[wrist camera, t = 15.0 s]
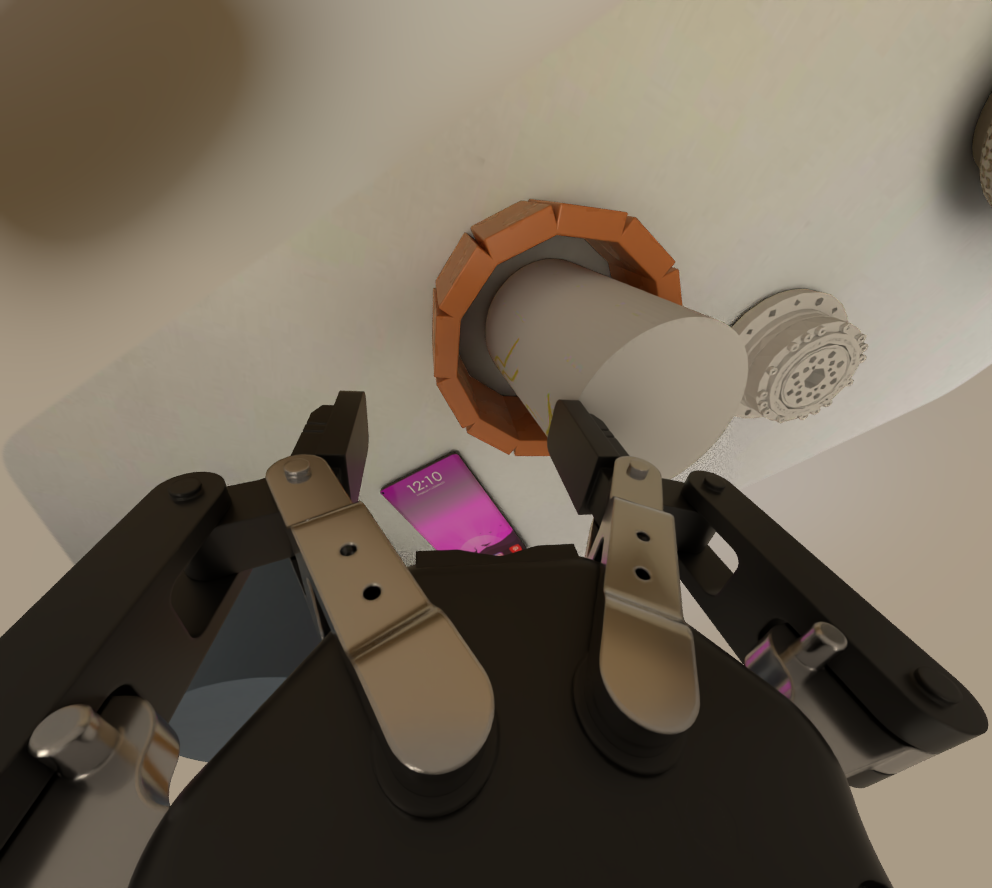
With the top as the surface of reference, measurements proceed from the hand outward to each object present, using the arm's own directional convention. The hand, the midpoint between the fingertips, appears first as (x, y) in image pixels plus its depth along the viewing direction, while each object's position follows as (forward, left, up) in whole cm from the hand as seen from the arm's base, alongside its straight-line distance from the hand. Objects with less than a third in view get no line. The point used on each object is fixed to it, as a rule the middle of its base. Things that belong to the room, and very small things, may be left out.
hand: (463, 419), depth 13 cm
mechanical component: (+24, -7, -13) cm, 28 cm away
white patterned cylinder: (+6, -2, -13) cm, 14 cm away
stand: (-17, -23, -13) cm, 31 cm away
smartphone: (-2, -19, -13) cm, 23 cm away
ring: (+6, -1, -13) cm, 14 cm away
